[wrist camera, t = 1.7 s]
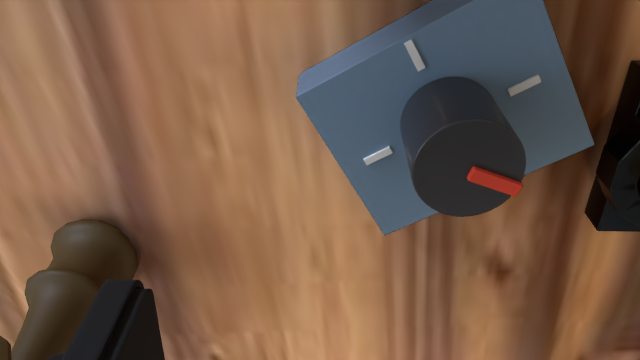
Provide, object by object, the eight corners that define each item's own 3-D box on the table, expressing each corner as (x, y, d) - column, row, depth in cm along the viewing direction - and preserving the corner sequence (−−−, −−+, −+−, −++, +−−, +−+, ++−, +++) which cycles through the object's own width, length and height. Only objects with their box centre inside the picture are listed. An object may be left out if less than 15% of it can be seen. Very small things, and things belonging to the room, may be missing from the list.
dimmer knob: (384, 146, 25) (394, 202, 21) (425, 62, 23) (444, 106, 19) (468, 174, 26) (492, 234, 22) (515, 95, 24) (552, 145, 20)
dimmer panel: (511, -44, 24) (533, -31, 21) (571, 118, 28) (596, 146, 25) (299, 73, 27) (294, 98, 24) (380, 204, 31) (384, 238, 28)
